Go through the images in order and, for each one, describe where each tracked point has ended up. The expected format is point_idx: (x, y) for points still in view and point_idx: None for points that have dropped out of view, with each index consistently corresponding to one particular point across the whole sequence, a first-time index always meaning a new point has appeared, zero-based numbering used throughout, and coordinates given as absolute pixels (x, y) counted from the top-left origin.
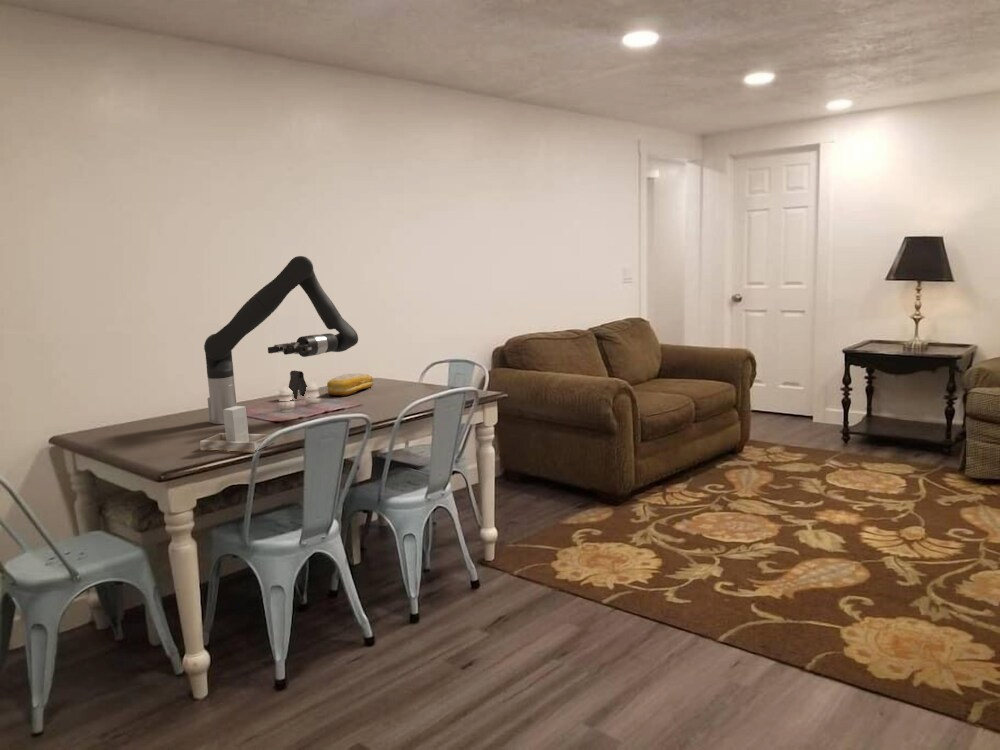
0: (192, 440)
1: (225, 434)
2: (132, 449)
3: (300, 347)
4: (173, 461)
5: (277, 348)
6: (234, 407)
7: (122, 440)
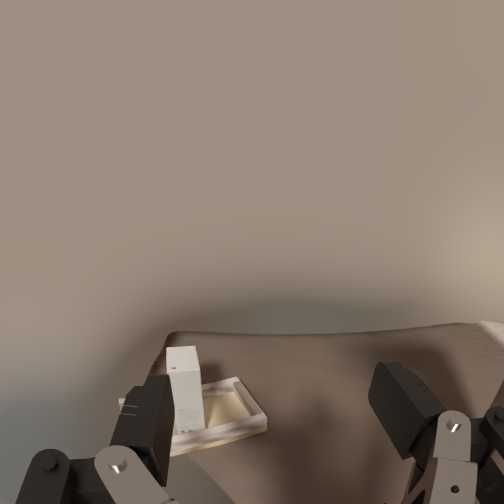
0: (331, 407)
1: (246, 418)
2: (340, 350)
3: (37, 461)
4: (213, 352)
5: (416, 434)
6: (186, 360)
7: (411, 353)
